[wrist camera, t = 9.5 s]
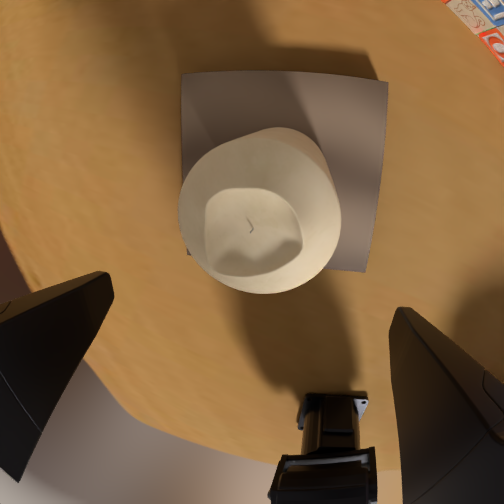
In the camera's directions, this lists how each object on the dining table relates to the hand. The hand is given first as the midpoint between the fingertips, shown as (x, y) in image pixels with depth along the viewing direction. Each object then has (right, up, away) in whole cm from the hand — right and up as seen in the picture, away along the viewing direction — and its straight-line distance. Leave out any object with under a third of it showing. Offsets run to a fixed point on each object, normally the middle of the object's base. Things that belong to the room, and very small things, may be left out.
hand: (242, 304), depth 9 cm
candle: (+2, +6, +9) cm, 11 cm away
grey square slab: (+2, +7, +11) cm, 13 cm away
